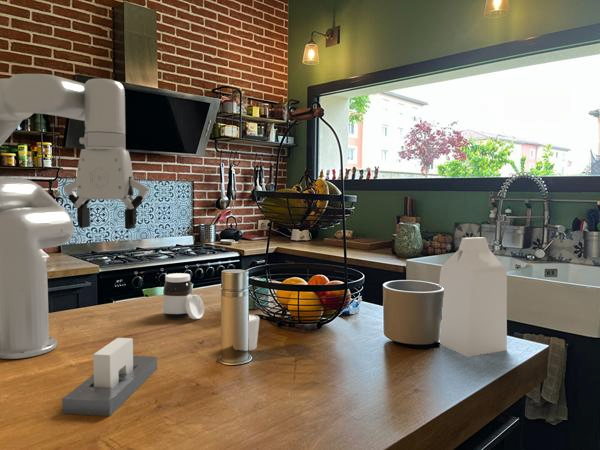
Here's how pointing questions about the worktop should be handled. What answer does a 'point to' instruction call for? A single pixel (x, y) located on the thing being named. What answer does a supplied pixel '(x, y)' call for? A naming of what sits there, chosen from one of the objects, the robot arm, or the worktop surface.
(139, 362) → the grey slotted base
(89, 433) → the worktop surface
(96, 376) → the clip
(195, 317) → the spread jar
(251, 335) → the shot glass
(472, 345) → the milk
